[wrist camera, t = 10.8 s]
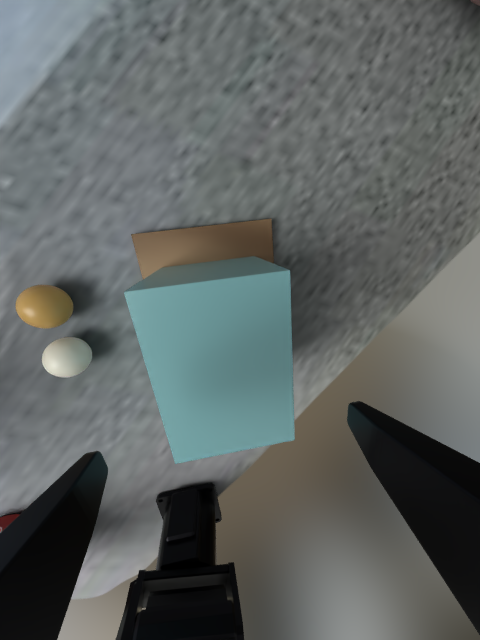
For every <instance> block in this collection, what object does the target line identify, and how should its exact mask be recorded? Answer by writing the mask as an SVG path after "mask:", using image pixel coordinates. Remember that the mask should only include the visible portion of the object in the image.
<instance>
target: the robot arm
mask: <svg viewBox="0 0 480 640" xmlns="http://www.w3.org/2000/svg"><path fill="white" fill-rule="evenodd" d="M347 421H348V425H349V427H350V429H351V431H352V433H353V435H354V437H355V439H356V440H357V442H358V444H359V446H360V448H361V450H362V451H363V454H364V455H365V457H366V459H367V461H368V463H369V465H370V467H371V468H372V470H373V472H374V473H375V475H376V476H377V478H378V479H379V481H380V483H381V484H382V486H383V487H384V489H385V490H386V492H387V493H388V495H389V496H390V498H391V499H392V501H393V502H394V504H395V506H396V507H397V509H398V510H399V512H400V513H401V515H402V516H403V518H404V519H405V521H406V522H407V524H408V526H409V527H410V529H411V530H412V532H413V533H414V534H415V536H416V538H417V539H418V541H419V543H420V544H421V546H422V547H423V549H424V550H425V552H426V553H427V555H428V556H429V558H430V559H431V561H432V562H433V564H434V566H435V567H436V568H437V570H438V572H439V573H440V575H441V576H442V578H443V579H444V581H445V583H446V584H447V586H448V587H449V588H450V590H451V592H452V593H453V595H454V596H455V598H456V599H457V601H458V602H459V604H460V605H461V607H462V609H463V610H464V611H465V613H466V615H467V616H468V618H469V619H470V621H471V622H472V624H473V626H474V627H475V629H476V630H477V632H478V633H479V635H480V463H479V462H476V461H475V460H473V459H471V458H469V457H467V456H465V455H463V454H461V453H459V452H457V451H456V450H454V449H452V448H450V447H448V446H446V445H444V444H442V443H440V442H438V441H436V440H434V439H432V438H430V437H429V436H427V435H425V434H423V433H421V432H419V431H417V430H415V429H413V428H411V427H409V426H407V425H405V424H404V423H402V422H400V421H398V420H396V419H394V418H392V417H390V416H388V415H386V414H384V413H382V412H380V411H378V410H377V409H374V408H373V407H371V406H368V405H367V404H365V403H363V402H360V401H357V402H352V403H350V404H349V406H348V417H347ZM107 475H108V467H107V465H106V463H105V460H104V458H103V456H102V454H101V452H99V451H95V452H90V453H86V454H85V455H83V456H82V457H81V458H80V459H79V460H78V461H77V462H76V463H75V464H74V465H73V466H71V467H70V468H69V469H68V470H67V471H66V472H65V473H64V474H63V475H62V476H61V477H60V478H59V479H58V480H56V481H55V482H54V483H53V484H52V485H51V486H50V487H49V488H48V489H47V490H46V491H45V492H44V493H43V494H41V495H40V496H39V497H38V498H37V499H36V500H35V501H34V502H33V503H32V504H31V505H30V506H29V507H28V508H26V509H25V510H24V511H23V512H22V513H21V514H20V515H19V516H18V517H17V518H16V519H15V520H14V521H13V522H11V523H10V524H9V525H8V526H7V527H6V528H5V529H4V530H3V531H2V532H1V533H0V640H57V638H58V635H59V632H60V629H61V626H62V623H63V620H64V617H65V615H66V611H67V609H68V605H69V602H70V600H71V597H72V594H73V591H74V588H75V585H76V582H77V579H78V576H79V573H80V570H81V567H82V564H83V561H84V558H85V555H86V552H87V549H88V546H89V543H90V540H91V537H92V534H93V531H94V527H95V524H96V520H97V516H98V512H99V508H100V504H101V500H102V495H103V491H104V487H105V483H106V479H107ZM156 502H157V505H158V508H159V510H160V513H161V516H162V518H163V528H162V534H161V540H160V547H159V553H158V560H157V566H156V570H153V571H146V570H139V574H138V578H137V579H136V580H134V581H133V582H131V583H130V588H129V592H128V597H127V602H126V606H125V610H124V614H123V617H122V620H121V624H120V627H119V630H118V634H117V637H116V640H244V632H243V622H242V615H241V608H240V601H239V595H238V587H237V581H236V574H235V567H234V562H231V563H228V564H223V565H217V563H216V562H217V561H216V524H215V523H217V522H220V521H221V512H220V507H219V503H218V498H217V494H216V489H215V485H214V484H212V483H210V484H205V485H200V486H196V487H191V488H186V489H182V490H177V491H172V492H168V493H163V494H159V495H158V496H157V499H156ZM142 608H146V610H142Z"/></svg>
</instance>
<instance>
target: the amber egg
mask: <svg viewBox="0 0 480 640" xmlns="http://www.w3.org/2000/svg"><path fill="white" fill-rule="evenodd" d="M16 311H17V313H18V315H19V317H20V318H21V319H22V320H23V321H24V322H26V323H27V324H29V325H31V326H34V327H38V328H54V327H57V326H60V325H62V324H64V323H65V322H66V321H67V320H68V319H69V318H70V317H71V315H72V313H73V302H72V300H71V298H70V296H69V295H68V294H67V293H66V292H65V291H63V290H62V289H60V288H58V287H55V286H51V285H36V286H32V287H30V288H27V289H26V290H24V291H23V292H22V293H21V294H20V295H19V296H18V298H17V301H16Z"/></svg>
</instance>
